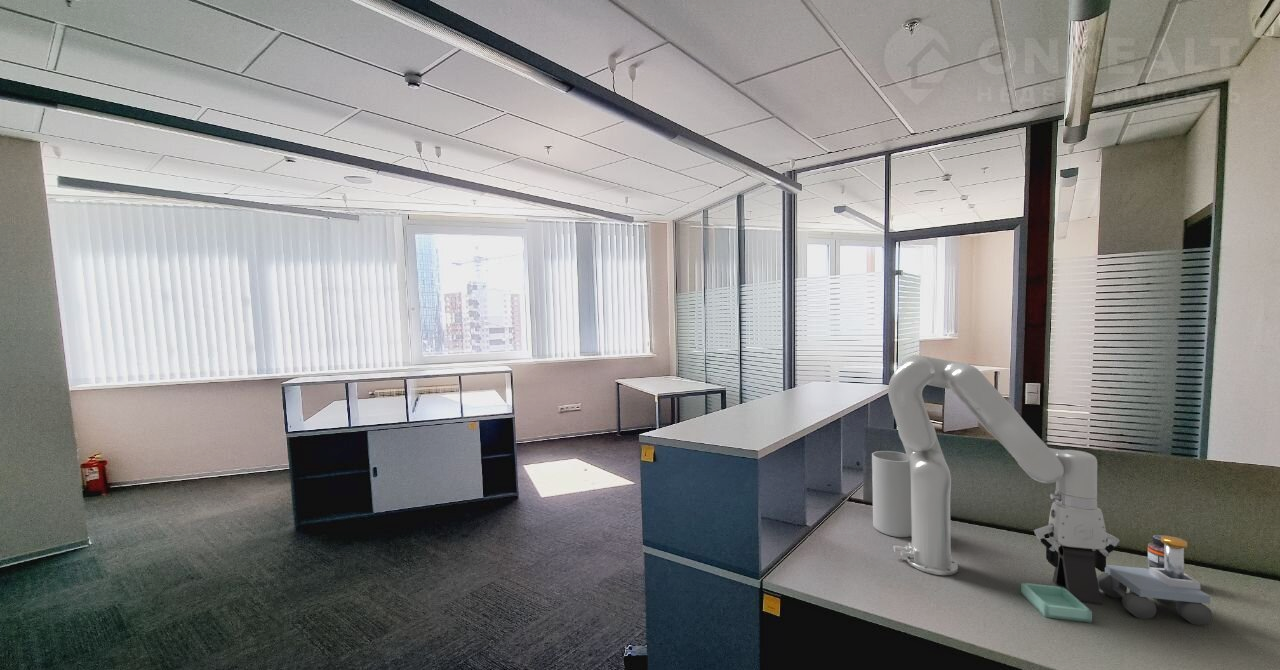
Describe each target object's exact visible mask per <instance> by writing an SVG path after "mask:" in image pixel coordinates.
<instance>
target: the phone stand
mask: <svg viewBox="0 0 1280 670" xmlns="http://www.w3.org/2000/svg"><path fill="white" fill-rule="evenodd" d="M1093 550H1094V549H1083V548H1073V547H1065V546H1062V545H1061V546H1060V547H1059V548H1057V552H1058V567H1054V571H1053V572H1054V573H1053V575H1052V576H1053V577H1052V582H1053V583H1054V584H1055V586H1058V587H1064V588H1065V589H1066V590H1068V591H1069V592H1070V593H1071V594H1072V595H1073V596H1075V597H1076V598H1077V599H1078V600H1079V601H1080V602H1081V603H1087V602H1088V603H1089V604H1095V605H1102V604H1103V603H1102V598H1101V592H1100V591H1101V590H1100V589H1099V585H1098V580H1097V577H1098V575H1097V571H1096V568H1095V564H1094V552H1093Z"/></svg>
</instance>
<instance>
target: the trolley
mask: <svg viewBox="0 0 1280 670" xmlns="http://www.w3.org/2000/svg"><path fill="white" fill-rule="evenodd" d="M1097 580H1098V585H1099V590H1100V591H1102V592H1103V593H1104V594H1106V595H1107V596H1108V597H1111V598H1121V597H1122V598H1121V604H1122V606H1123V608H1124V609H1125V610H1127V611H1128V612H1129V613H1131V614H1132V615H1133V616H1134V617H1136V618H1137V619H1141V620H1148V619H1151V618H1153V617H1154V616H1155V615H1156V613H1157V607H1156V604H1155V602H1153V601H1152V600H1151V599H1155V600H1157V601H1158V602H1160V603H1165V604H1170V603H1173V602H1174V603H1175V611H1176V613H1177V614H1178V615H1179V616H1180V617H1181V618H1183V619H1185V620H1186V621H1188V622H1189V623H1190V624H1192V625H1195V626H1206V625H1208V624H1209V623H1211V622H1212V620H1213V612H1212V610H1211V608H1209V607H1208V606H1207V604H1208V605H1211V596H1210V595H1209V594H1207V593H1206V592H1204V591H1202V590H1201V582H1200V581H1198V580H1196V579H1195V578H1193V577H1192V576H1190V575H1189V574H1186V573H1185V572H1184V579H1174V578H1170V577H1168V576H1167V575H1165V574H1164V568H1153V567H1149V569H1148V567H1147V568H1144V567H1133V566H1124V565H1113V564H1106V567H1105V572H1101V573H1100V574H1099V575H1097ZM1128 589H1129V592H1127V591H1128ZM1149 598H1150V599H1149ZM1205 604H1206V605H1205Z"/></svg>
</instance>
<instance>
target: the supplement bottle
mask: <svg viewBox="0 0 1280 670" xmlns="http://www.w3.org/2000/svg"><path fill="white" fill-rule="evenodd" d="M1161 536H1163V535H1161V534H1160V535H1159V534H1154V535H1153V536H1152V542H1149V543H1148V544H1147V569H1149V567H1153V568H1164V543H1163V542H1161Z"/></svg>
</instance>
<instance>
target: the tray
mask: <svg viewBox="0 0 1280 670" xmlns="http://www.w3.org/2000/svg"><path fill="white" fill-rule="evenodd" d="M1020 586H1021V587H1020V589H1021V590H1020V593H1021V594H1022V595H1023V596H1024V597H1025V599H1027V600H1028V601H1029V603H1031V604H1032V605H1033V606H1034V608H1036V610H1038V612H1040V614H1042V616H1043V617H1044V618H1049V619H1059V620H1066V621H1067V620H1068V621H1075V622H1076V621H1077V622H1085V623H1093V611H1092V610H1091V609H1090V608H1089V607H1087V605H1085V604H1084V602H1081V601H1079V600H1078V599H1077V598H1076V597H1075V596H1073V595H1072V594H1071V593H1070V592H1069V591H1068V590H1066V589H1065V588H1064V587H1058V586H1057V585H1045V584H1039V583H1037V584H1036V583H1030V582H1029V583H1028V582H1020Z"/></svg>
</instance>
